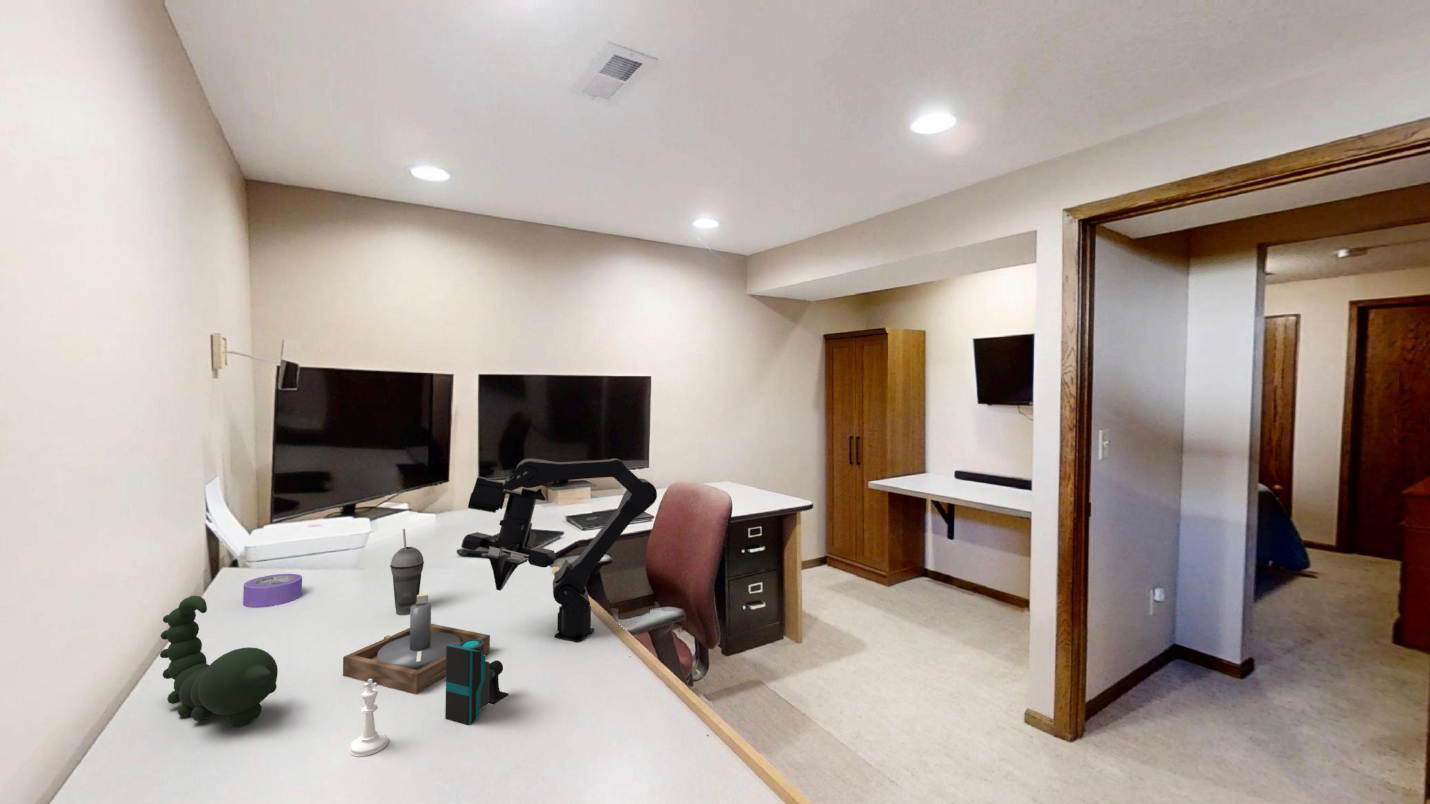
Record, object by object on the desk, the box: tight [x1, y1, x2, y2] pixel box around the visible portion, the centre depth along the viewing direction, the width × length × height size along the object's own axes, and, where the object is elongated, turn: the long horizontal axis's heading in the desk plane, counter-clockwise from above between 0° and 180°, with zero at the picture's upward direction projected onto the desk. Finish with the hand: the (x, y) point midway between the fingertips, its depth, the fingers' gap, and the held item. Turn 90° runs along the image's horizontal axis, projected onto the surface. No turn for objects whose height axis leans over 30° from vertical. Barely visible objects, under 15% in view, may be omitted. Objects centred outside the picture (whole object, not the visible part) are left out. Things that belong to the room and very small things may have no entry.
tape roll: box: [242, 573, 303, 609], centre depth 144 cm, size 12×12×5 cm
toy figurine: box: [159, 595, 279, 728], centre depth 92 cm, size 10×19×26 cm
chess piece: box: [348, 679, 389, 758], centre depth 84 cm, size 5×5×10 cm
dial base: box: [342, 623, 491, 695], centre depth 111 cm, size 18×18×4 cm
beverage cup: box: [389, 528, 425, 616], centre depth 137 cm, size 7×7×20 cm
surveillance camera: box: [444, 639, 509, 726], centre depth 96 cm, size 6×12×10 cm
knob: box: [377, 593, 460, 670], centre depth 111 cm, size 14×14×10 cm
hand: (499, 589), depth 120 cm, fingers closed
